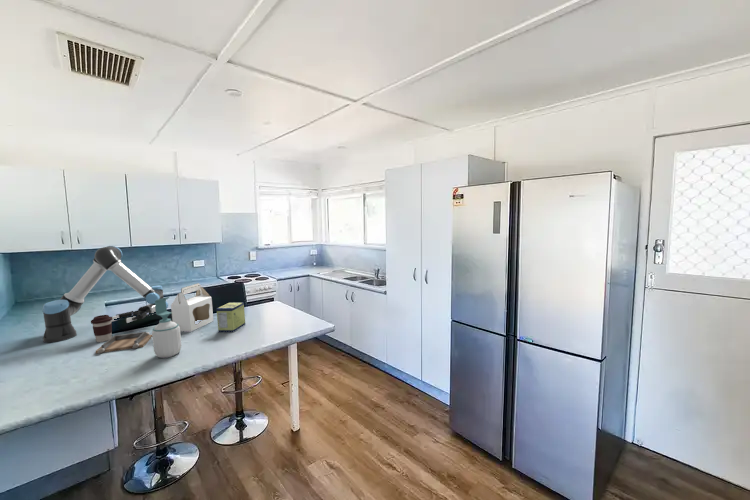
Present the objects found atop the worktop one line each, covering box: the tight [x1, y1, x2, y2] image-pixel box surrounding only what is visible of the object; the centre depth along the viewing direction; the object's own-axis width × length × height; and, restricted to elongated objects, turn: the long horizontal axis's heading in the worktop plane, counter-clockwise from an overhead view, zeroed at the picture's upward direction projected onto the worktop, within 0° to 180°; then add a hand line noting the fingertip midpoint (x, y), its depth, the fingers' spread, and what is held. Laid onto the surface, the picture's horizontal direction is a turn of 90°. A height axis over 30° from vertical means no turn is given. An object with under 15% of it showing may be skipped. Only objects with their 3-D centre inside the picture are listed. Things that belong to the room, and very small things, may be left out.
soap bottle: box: [151, 296, 182, 359], centre depth 170 cm, size 12×12×31 cm
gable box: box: [170, 282, 214, 333], centre depth 217 cm, size 22×13×28 cm, turn 170°
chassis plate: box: [95, 331, 153, 354], centre depth 187 cm, size 22×21×4 cm
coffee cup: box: [90, 314, 113, 343], centre depth 196 cm, size 10×10×15 cm
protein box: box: [216, 301, 246, 333], centre depth 210 cm, size 10×16×16 cm
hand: (117, 320), depth 205 cm, fingers open, 13 cm apart
